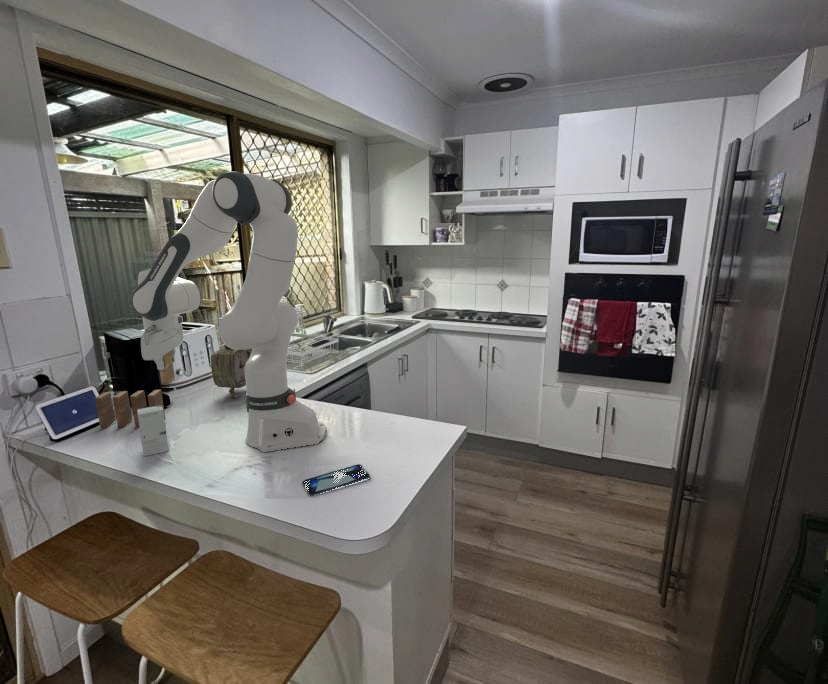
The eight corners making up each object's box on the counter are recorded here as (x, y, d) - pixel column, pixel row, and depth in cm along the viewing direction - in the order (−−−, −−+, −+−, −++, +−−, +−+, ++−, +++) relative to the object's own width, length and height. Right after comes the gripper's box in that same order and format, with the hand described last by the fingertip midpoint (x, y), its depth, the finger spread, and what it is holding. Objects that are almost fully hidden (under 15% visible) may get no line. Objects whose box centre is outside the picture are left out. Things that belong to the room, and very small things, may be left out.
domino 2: (132, 420, 137) (127, 391, 135) (124, 427, 133) (118, 396, 130) (126, 421, 137) (121, 391, 135) (118, 427, 132) (112, 397, 130)
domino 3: (149, 419, 138) (144, 390, 136) (141, 426, 133) (136, 396, 131) (143, 420, 138) (138, 390, 135) (135, 426, 133) (129, 396, 131)
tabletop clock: (236, 400, 153) (228, 332, 147) (213, 399, 155) (204, 331, 149) (257, 387, 167) (250, 324, 161) (236, 386, 169) (228, 323, 163)
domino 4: (165, 418, 139) (161, 389, 136) (158, 425, 134) (153, 395, 131) (159, 419, 138) (154, 389, 136) (152, 425, 134) (147, 395, 131)
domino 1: (115, 421, 137) (110, 392, 135) (106, 428, 132) (101, 397, 130) (109, 421, 137) (104, 392, 134) (100, 428, 132) (94, 398, 129)
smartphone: (301, 480, 101) (360, 463, 108) (301, 484, 102) (360, 466, 109) (309, 496, 95) (371, 477, 102) (309, 500, 95) (371, 480, 102)
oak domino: (174, 379, 136) (170, 348, 134) (167, 384, 131) (163, 353, 129) (168, 379, 136) (164, 348, 133) (161, 384, 131) (157, 353, 129)
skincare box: (143, 457, 114) (136, 414, 111) (143, 450, 118) (135, 409, 115) (170, 450, 117) (163, 409, 115) (168, 444, 121) (162, 404, 118)
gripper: (155, 329, 119) (162, 376, 123) (184, 316, 139) (189, 357, 142) (131, 329, 119) (138, 377, 122) (164, 316, 138) (169, 357, 142)
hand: (166, 366), depth 132 cm, fingers closed on oak domino, 5 cm apart
